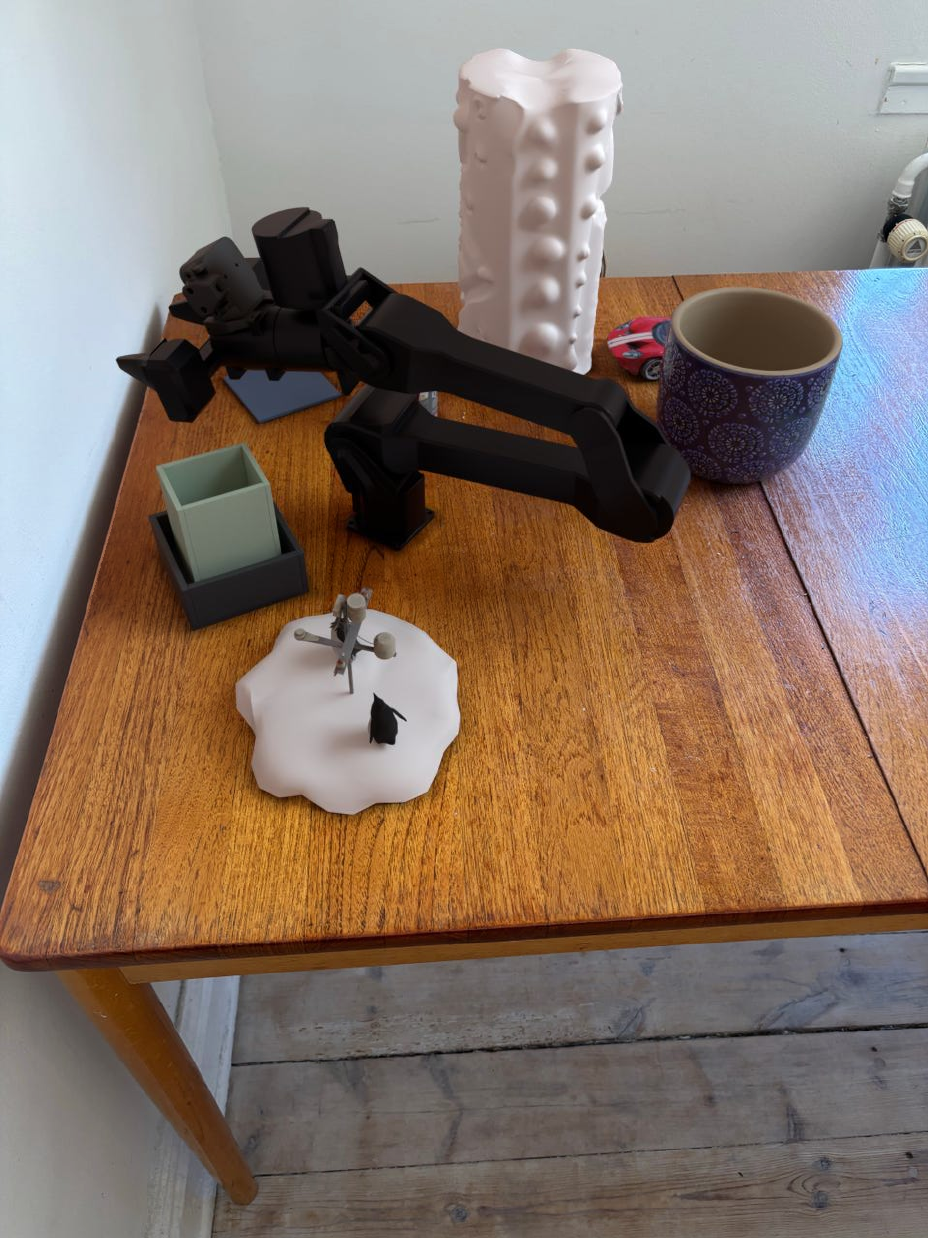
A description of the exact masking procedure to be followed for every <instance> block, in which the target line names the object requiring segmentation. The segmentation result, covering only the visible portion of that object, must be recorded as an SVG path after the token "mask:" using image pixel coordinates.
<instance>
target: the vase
mask: <svg viewBox="0 0 928 1238" xmlns="http://www.w3.org/2000/svg"><path fill="white" fill-rule="evenodd" d="M458 68H459V69H458V89H457V91H456V93H455V102H456V104H457V105H458V108H456V110H455V111H454V112H453V115H452V119H453V124H454V126H455V128H456V129H457V131H458V135H457V136H458V137H457V139H458V140H457V142H458V143H457V144H458V155H459V162H460V163H461V166H460V172H461V173H460V180H459V183H458V184H459V186H458V187H459V191H460V192H459V194H460V201H459V211H458V215H459V219H460V221H459V222H460V223H459V225H460V228H461V229H460V234H459V235H458V254H457V265H458V266H457V267H458V273H457V274H458V275H457V276H458V278H457V279H458V280H457V281H458V289H459V290H461V292H460V296H459V301H460V303H461V305H462V306H463V307H461V310H459V313H458V324H457V328H456V329H457V330H458V331H460V332H462V333H464V334H466V335H468V336H470V337H473V338H476V339H478V340H481V341H484V342H487V343H490V344H493V345H496V346H499V347H502V348H505V349H508V350H511V351H514V352H517V353H520V354H523V355H526V356H529V357H532V358H535V359H538V360H541V361H544V362H547V363H550V364H553V365H556V366H559V367H562V368H565V369H568V370H571V371H574V372H576V373H579V374H582V375H586V374H587V373H588V372H589V371H591V368H592V362H593V361H592V350H593V347H594V338H595V336H594V335H595V334H594V332H595V324H596V316H597V308H598V303H599V299H598V298H599V297H598V295H599V294H598V293H599V287H600V277H601V273H602V265H603V256H604V253H603V252H604V238H605V228H606V224H607V222H608V218H607V215H606V213H607V212H606V208H605V203H604V201H603V200H602V199H601V197H602V196H603V195H604V194H605V193H606V191H607V190H608V189H609V188H610V186H611V185H612V182H613V173H614V161H615V160H614V157H615V142H614V141H615V139H614V130H613V125H614V121H615V118H616V117H617V116H619V115H621V114H622V113H623V112H624V111H625V106H624V100H623V88H624V84H623V82H622V74H621V73H622V72H621V71H620V70H619V68H618V66H617V64H616V63H615V62H614V60H611V59H610V58H608V57H606V56H603V55H601V54H598V53H596V52H593V51H589V50H584V49H579V48H565V49H563V50H561V51H560V52H558V53H557V54H556V55H555V56H554V57H552V58H550V59H548V60H542V61H541V60H532V59H529V58H526V57H525V56H522V55H521V54H519V53H516V52H514V51H512V50H510V49H507V48H502V47H501V48H500V47H499V48H498V47H497V48H493V49H488V50H485V51H482V52H480V53H477V54H474V55H473V56H471V57H470V60H468V61H466V62H463V63H462V64H461V65H460V66H459V67H458Z"/></svg>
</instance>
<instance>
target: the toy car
mask: <svg viewBox="0 0 928 1238" xmlns="http://www.w3.org/2000/svg"><path fill="white" fill-rule="evenodd" d="M670 319H671V317H663V316H638V317H635V318H633V319H630V320H628V321H625V322H624V323H622V324H620V325H618V326H616V327H615V328H613V329H612V330H611V331H610V332H609V333H608V335H607V338H606V344H607V347H608V351H609V352H610V354H611V355H612V356H613V357H614V358H615V360H616V362H617V364H618V366H619V368H621V369H622V370H626V371H629V372H630V374H631V375H634V376H638V375H641V376H642V377H643V378H644V379H645V380H646V381H653V380H655V381H657V380H659V377H660V370H661V364H662V357H663V352H664V347H665V341H666V336H667V331H668V327H669V323H670Z"/></svg>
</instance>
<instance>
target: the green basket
mask: <svg viewBox="0 0 928 1238" xmlns="http://www.w3.org/2000/svg"><path fill="white" fill-rule="evenodd" d="M155 470H156V474H157V477H158V483H159V485H160V486H159V487H160V490H161V493H162V498H163V501H164V505H165V508H166V509H165V510H167V513H168V516H169V520H170V524H171V528H172V532H173V536H174V539H175V543H176V547H177V551H178V555H179V558H180V561H181V564H182V566H183V568H184V570H185V572H186V574H187V577H188V579H189V581H190V583H191V584H192V583H195V582H198V581H201V580H204V579H207V578H211V577H214V576H217V575H220V574H223V573H226V572H229V571H233V570H236V569H239V568H242V567H245V566H248V565H252V564H255V563H258V562H261V561H264V560H267V559H270V558H274V557H277V556H280V555H281V548H280V542H279V536H278V530H277V524H276V517H275V511H274V505H273V500H274V498H273V493H272V487H271V483H270V482H269V479H268V478H267V476H266V475H265V473H264V470H262V467H261V466H260V465H259V462H257V459H256V458H255V456H254V454H253V453H252V451H251V450H250V447H249V446H248V444H247V443H246V441H242V442H240V443H239V442H238V443H235V444H231V445H227V446H224V447H221V448H217V449H214V450H210V451H205V452H202V453H199V454H196V455H192V456H189V457H184V458H181V459H177V460H173V461H170V462H166V463H163V464H158V465H156V466H155ZM272 498H273V499H272Z"/></svg>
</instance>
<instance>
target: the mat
mask: <svg viewBox="0 0 928 1238" xmlns="http://www.w3.org/2000/svg"><path fill="white" fill-rule="evenodd" d="M222 378H223V381H224V382H225V383H226V385H227V386H228V387H229V388H230V389H231V391H232V392H233V393H234V394H235V396H236V397H237V399H239V401H240V402H241V403H242V404H243V405H244V407H245V408H246V409H247V410H248V411H249V413H250V414H251V415H252V416H253V418H254V419H255V420H256V422H257V423H258V424H262V423H265V422H269V421H272V420H274V419H278V418H280V417H284V416H287V415H290V414H292V413H296V412H299V411H302V410H305V409H308V408H311V407H314V406H318V405H321V404H323V403H326V402H330V401H333V400H335V399H339V398H341V397H342V395H341V394H342V393H340V391H339V390H338V389H337V388H336V387H335V386H334V385H333V384H332V383H331V382H330V381H329V380H328V379H327V378H326V377H325V375H324V374H323V373H322V372H294V371H286V373H285V374H284V375H283V376H282V378H281V379H280V380H279V381H269V379H268V377H267V374H266V371H255V370H247V371H246V373H245V374H244V375H243V376H242V377H241V378H240V380H230V378H229V376H228V375H225V376H223V377H222Z"/></svg>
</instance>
